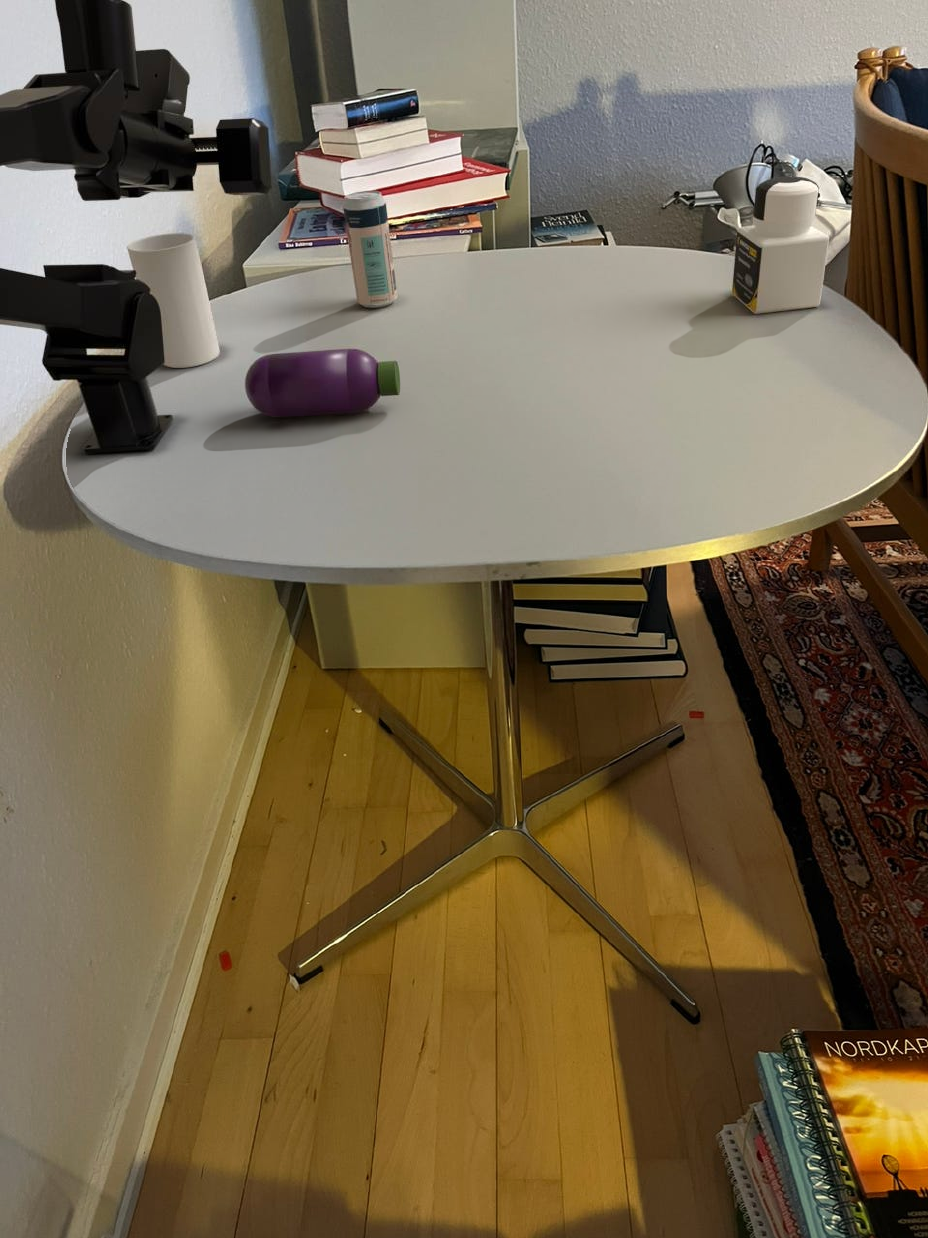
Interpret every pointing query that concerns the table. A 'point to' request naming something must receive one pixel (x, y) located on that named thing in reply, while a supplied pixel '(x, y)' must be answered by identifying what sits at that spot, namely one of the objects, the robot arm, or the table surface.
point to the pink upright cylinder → (370, 248)
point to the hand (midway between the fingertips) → (218, 171)
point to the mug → (178, 296)
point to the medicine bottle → (781, 249)
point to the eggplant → (319, 382)
